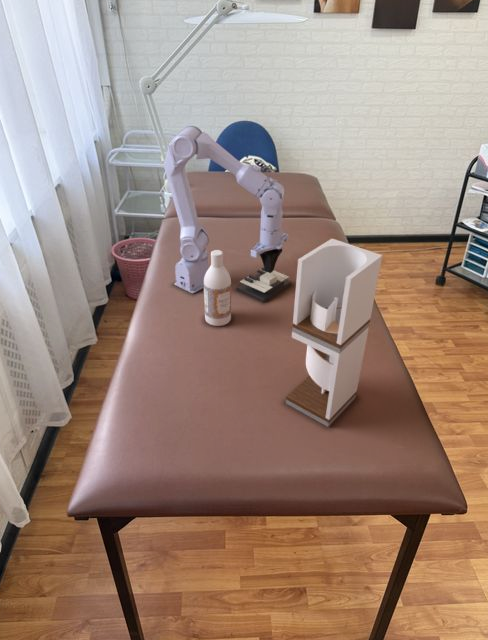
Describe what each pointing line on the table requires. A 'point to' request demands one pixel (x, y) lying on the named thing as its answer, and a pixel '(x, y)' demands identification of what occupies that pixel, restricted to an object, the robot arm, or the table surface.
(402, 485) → the table surface
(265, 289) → the piano keys trim
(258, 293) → the toy piano
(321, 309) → the white tower
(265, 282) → the square cream block
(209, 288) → the bath foam
